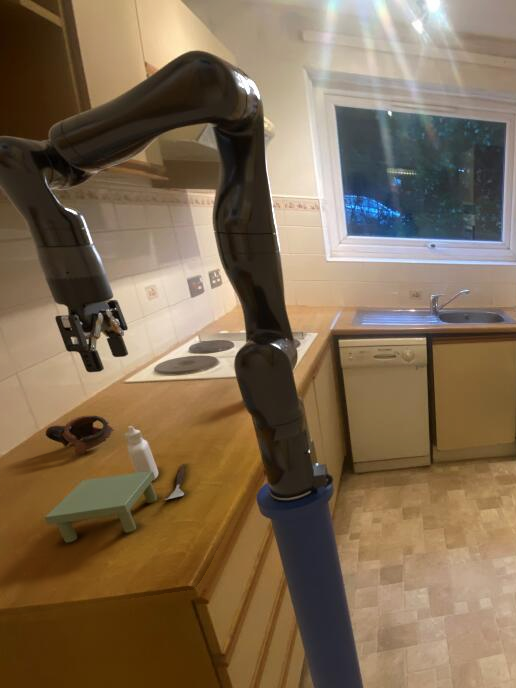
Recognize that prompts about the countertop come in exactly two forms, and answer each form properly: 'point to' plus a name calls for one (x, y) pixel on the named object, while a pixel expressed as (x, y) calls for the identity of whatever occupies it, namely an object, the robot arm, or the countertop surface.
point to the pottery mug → (80, 433)
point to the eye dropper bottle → (140, 452)
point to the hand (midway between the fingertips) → (109, 363)
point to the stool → (102, 501)
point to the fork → (177, 491)
